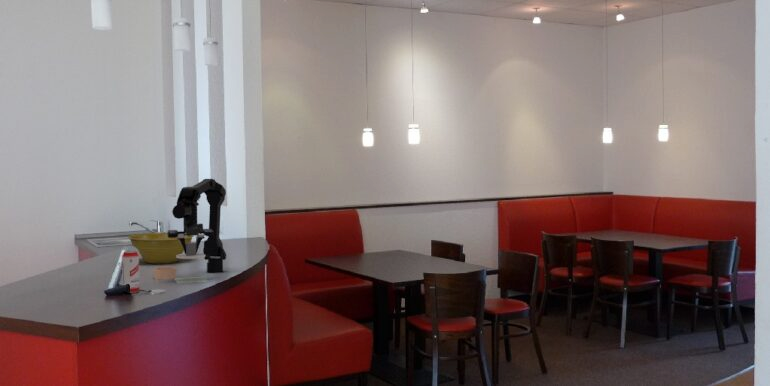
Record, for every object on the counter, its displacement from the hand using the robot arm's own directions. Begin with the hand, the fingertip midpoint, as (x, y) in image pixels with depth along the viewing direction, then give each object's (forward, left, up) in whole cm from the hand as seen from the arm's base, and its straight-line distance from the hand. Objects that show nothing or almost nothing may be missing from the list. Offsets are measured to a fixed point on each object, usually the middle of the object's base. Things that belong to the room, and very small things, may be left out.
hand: (190, 253), depth 309 cm
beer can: (+25, +18, -12) cm, 33 cm away
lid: (0, 0, -1) cm, 1 cm away
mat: (0, 0, -12) cm, 12 cm away
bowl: (+10, -11, -12) cm, 19 cm away
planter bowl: (+7, -67, -12) cm, 68 cm away
